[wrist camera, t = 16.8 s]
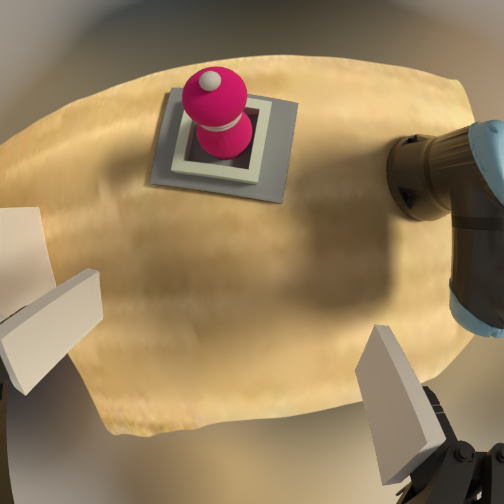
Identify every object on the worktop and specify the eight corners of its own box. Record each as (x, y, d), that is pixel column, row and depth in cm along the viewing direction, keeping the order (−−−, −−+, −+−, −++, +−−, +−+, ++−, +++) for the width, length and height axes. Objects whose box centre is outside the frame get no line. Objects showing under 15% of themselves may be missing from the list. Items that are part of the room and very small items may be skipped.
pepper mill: (262, 139, 38) (274, 75, 18) (226, 173, 38) (205, 134, 18) (227, 108, 37) (212, 30, 17) (192, 140, 37) (146, 82, 18)
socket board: (296, 106, 38) (301, 95, 34) (281, 203, 40) (285, 202, 36) (173, 91, 38) (166, 79, 33) (152, 184, 40) (142, 181, 35)
